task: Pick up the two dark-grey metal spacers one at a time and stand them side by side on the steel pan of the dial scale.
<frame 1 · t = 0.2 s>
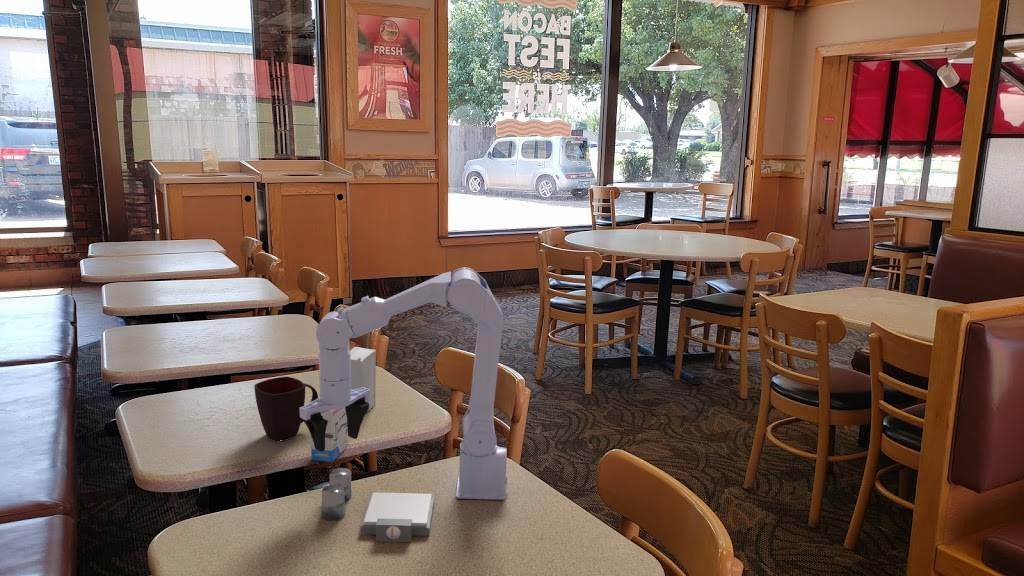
hand: (336, 443, 140), 10 cm above the table, fingers open, 7 cm apart
ink box: (329, 453, 158), on the table
cup: (289, 433, 166), on the table
skincare box: (358, 410, 180), on the table
spacer a: (340, 496, 141), on the table
spacer b: (333, 515, 134), on the table
scale: (398, 518, 134), on the table
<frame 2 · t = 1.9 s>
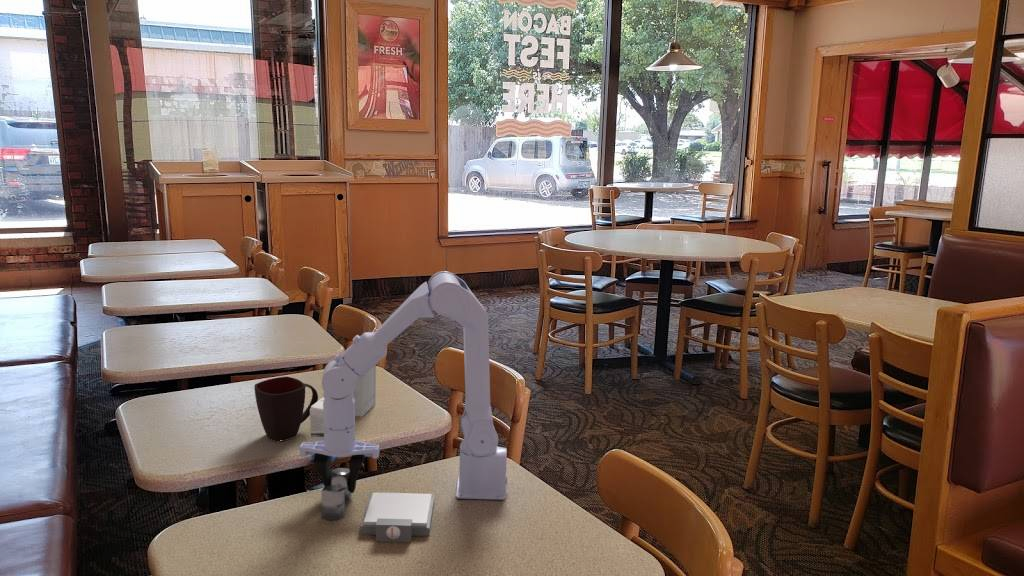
hand: (340, 489, 140), 1 cm above the table, fingers closed on spacer a, 4 cm apart
spacer a: (340, 496, 141), on the table, touching gripper
everything else where it was.
when the fingers open (5 cm above the table, at t = 5.1 s): spacer a stays where it is, resting on scale.
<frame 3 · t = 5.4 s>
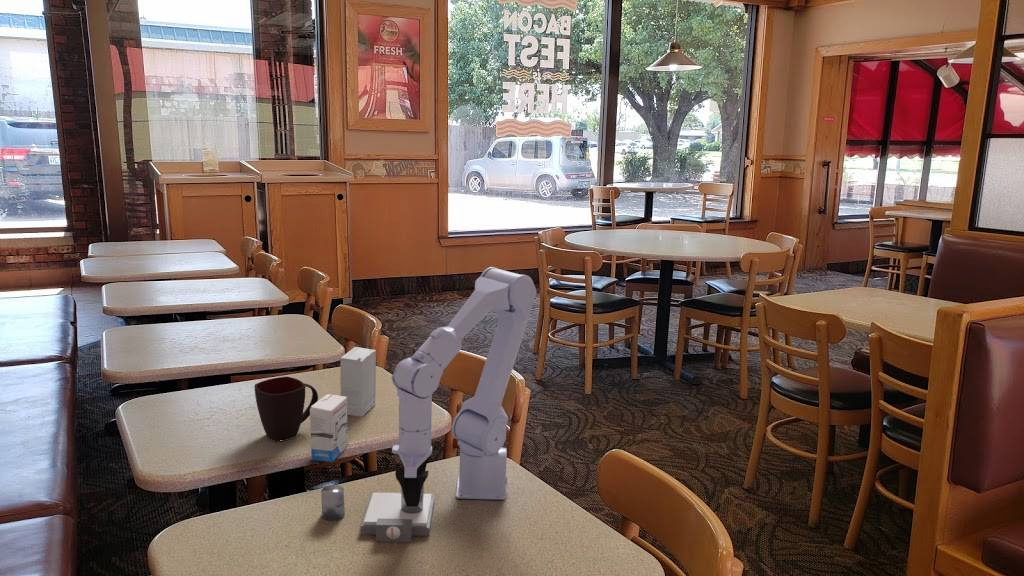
hand: (414, 494, 133), 5 cm above the table, fingers open, 7 cm apart
spacer a: (412, 507, 134), point 2 cm above the table, touching scale
everything else where it was.
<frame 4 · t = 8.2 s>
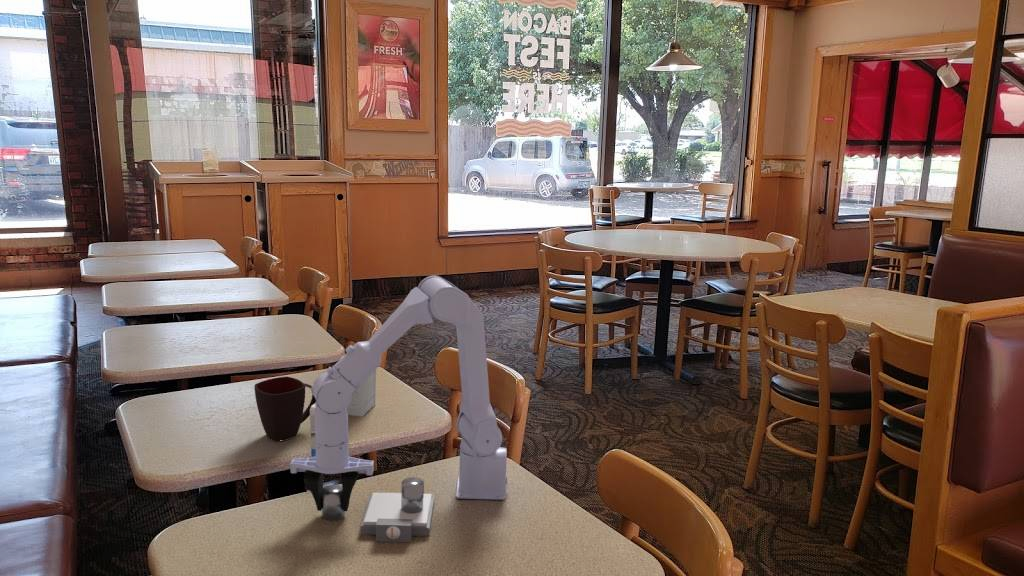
hand: (333, 508, 134), 1 cm above the table, fingers closed on spacer b, 4 cm apart
spacer b: (333, 515, 134), on the table, touching gripper
everything else where it was.
when the fingers open (5 cm above the table, at t = 11.1 s): spacer b stays where it is, resting on scale.
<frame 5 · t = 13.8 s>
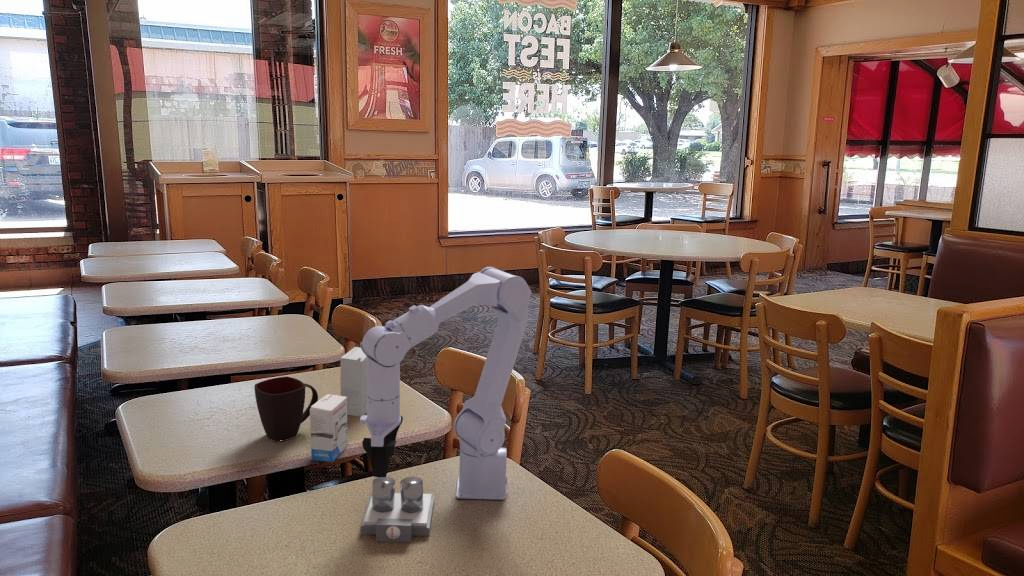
hand: (383, 465, 132), 10 cm above the table, fingers open, 7 cm apart
spacer b: (383, 506, 134), point 2 cm above the table, touching scale
everything else where it was.
at the end: spacer a inside the target area on the scale (2.4 cm from its centre), point 2.3 cm above the scale's base; spacer b inside the target area on the scale (2.9 cm from its centre), point 2.2 cm above the scale's base; spacer b tilted 1° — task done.
